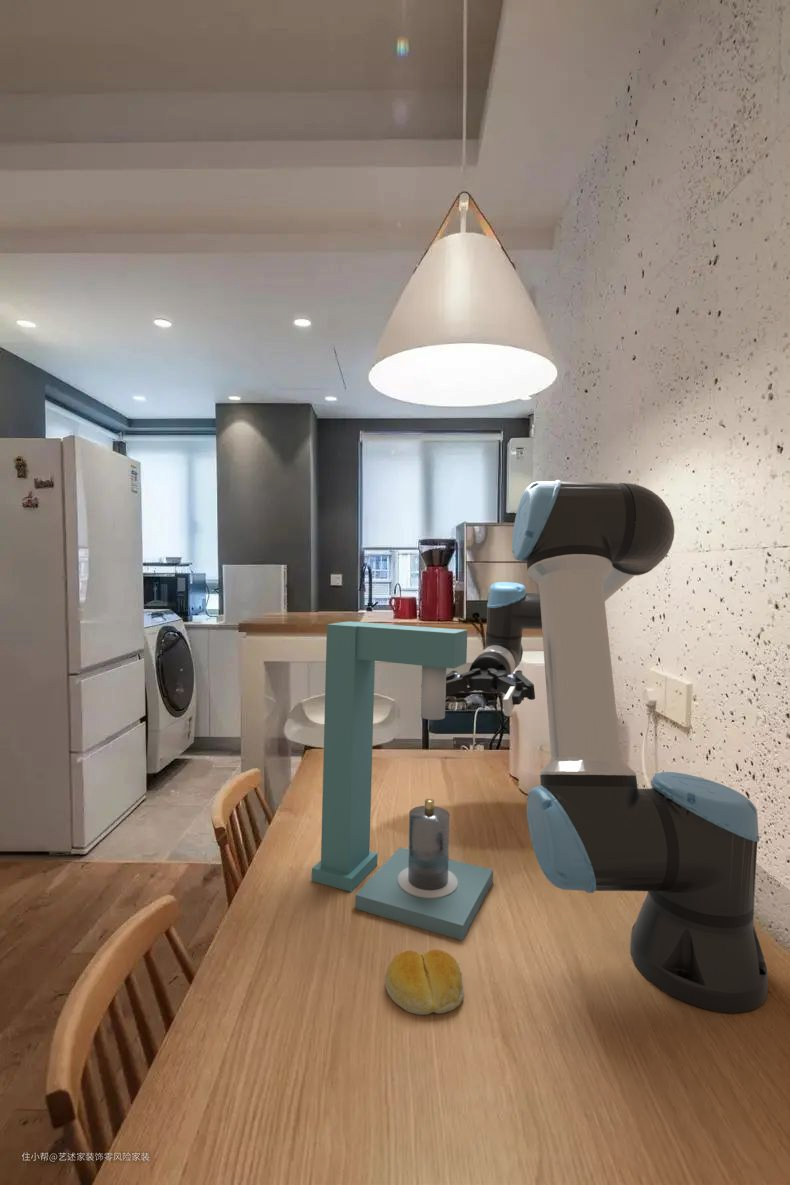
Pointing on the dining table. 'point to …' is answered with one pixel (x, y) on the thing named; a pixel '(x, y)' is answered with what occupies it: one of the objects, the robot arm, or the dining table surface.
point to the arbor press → (352, 773)
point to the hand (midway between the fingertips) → (464, 707)
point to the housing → (428, 846)
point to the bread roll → (425, 982)
